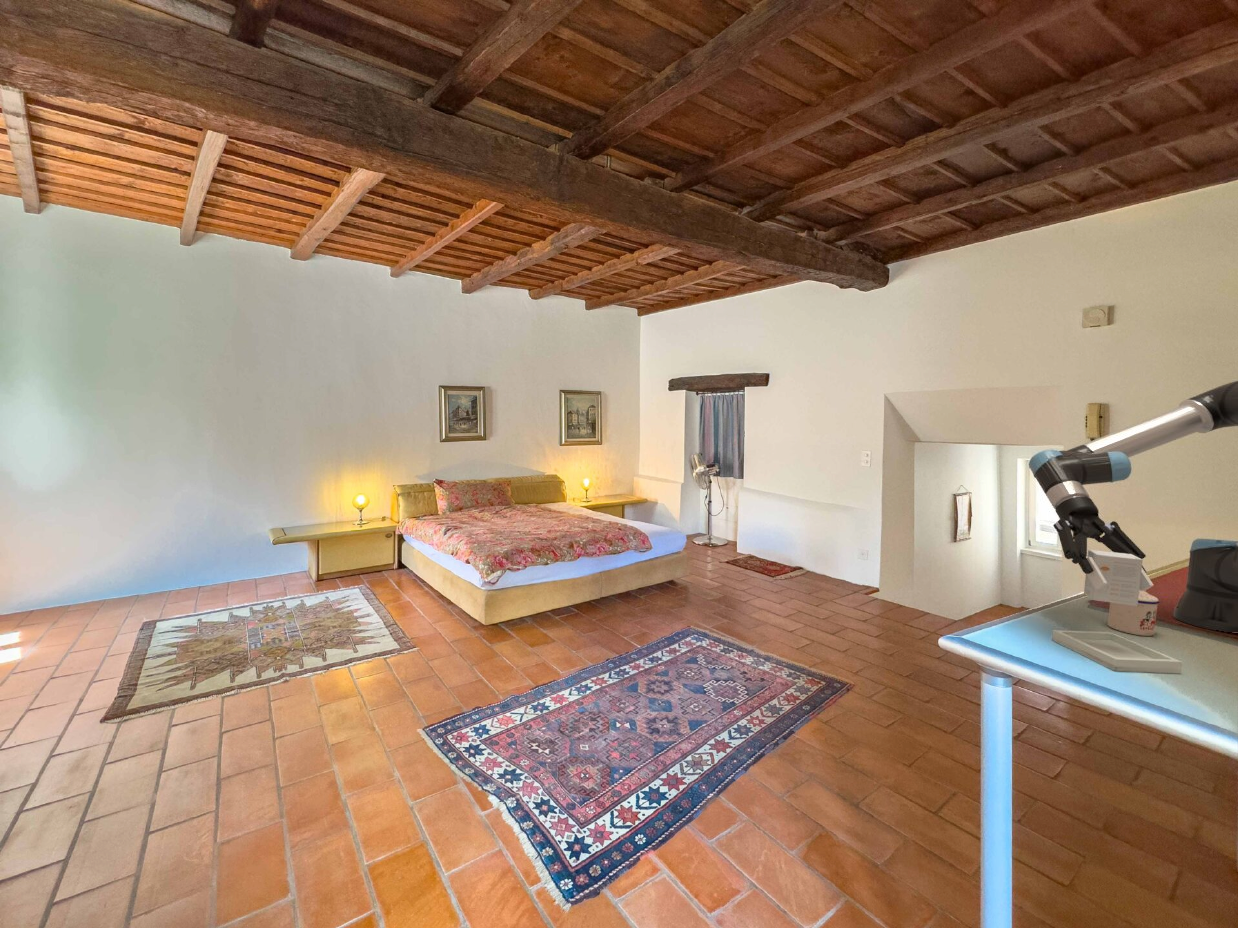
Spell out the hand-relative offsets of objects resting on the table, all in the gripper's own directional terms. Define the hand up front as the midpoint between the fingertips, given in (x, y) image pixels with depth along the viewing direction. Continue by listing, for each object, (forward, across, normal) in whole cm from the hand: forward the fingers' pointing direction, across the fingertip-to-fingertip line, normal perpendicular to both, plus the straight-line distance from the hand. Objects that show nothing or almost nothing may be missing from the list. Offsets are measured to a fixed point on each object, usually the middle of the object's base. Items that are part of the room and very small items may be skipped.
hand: (1124, 587), depth 119 cm
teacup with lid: (-2, -22, -25) cm, 33 cm away
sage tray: (+11, 0, -12) cm, 16 cm away
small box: (+1, 0, -5) cm, 5 cm away
